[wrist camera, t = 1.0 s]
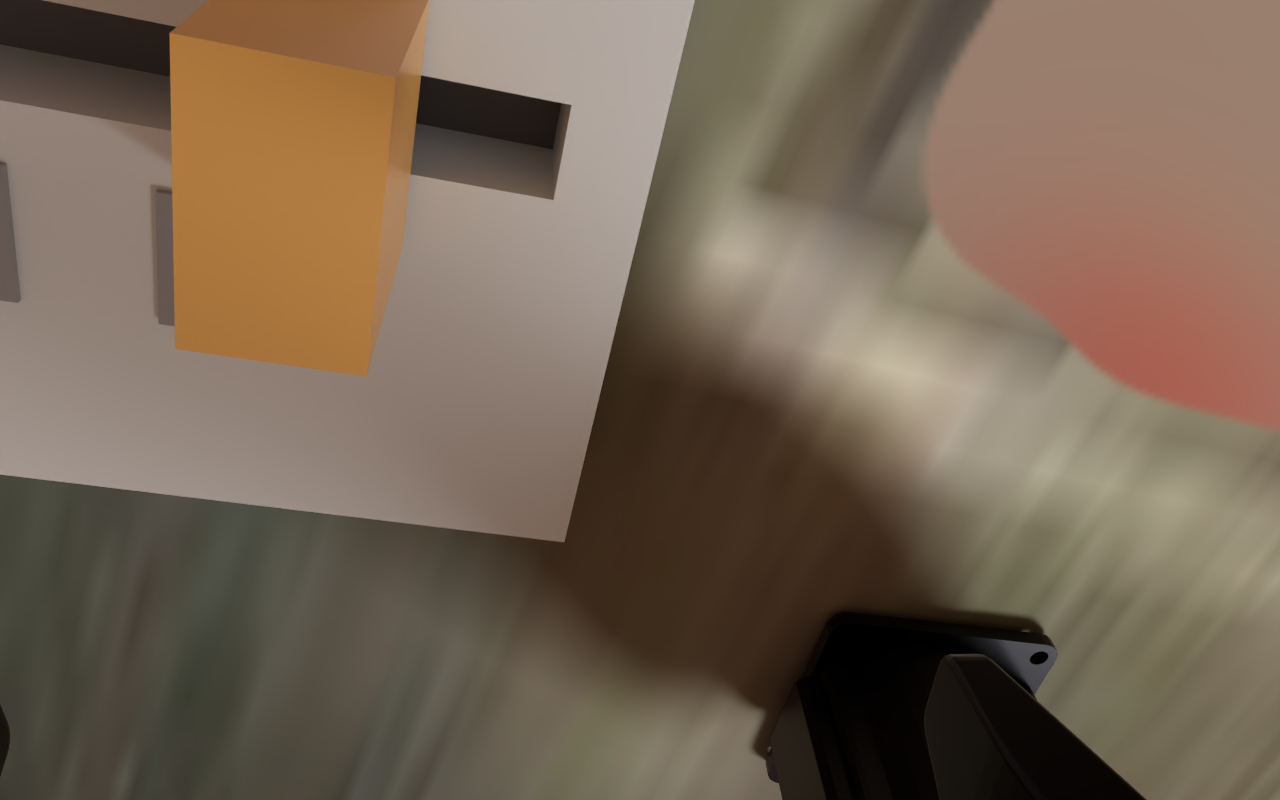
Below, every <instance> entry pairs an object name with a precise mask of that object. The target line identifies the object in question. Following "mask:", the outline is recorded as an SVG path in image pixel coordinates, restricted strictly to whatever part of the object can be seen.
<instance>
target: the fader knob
mask: <svg viewBox="0 0 1280 800" xmlns="http://www.w3.org/2000/svg"><path fill="white" fill-rule="evenodd" d="M428 9H429V0H208V1H207V2H206V3H205V4H204V5H202V6H201V7H200V8H199V9H198V10H196V11H195V12H194V13H193V14H192V15H190V16H189V17H188V18H187V19H186V20H184V21H183V22H182V23H181V24H180V25H178V26H177V27H176V28H175V29H174V30H172V31H171V32H170V88H171V145H172V203H173V260H174V317H175V349H179V350H186V351H193V352H200V353H207V354H214V355H221V356H227V357H234V358H241V359H248V360H255V361H262V362H269V363H276V364H283V365H290V366H297V367H303V368H310V369H317V370H324V371H331V372H338V373H345V374H352V375H359V376H366V377H367V374H368V371H369V367H370V363H371V360H372V356H373V352H374V349H375V345H376V341H377V338H378V334H379V331H380V327H381V323H382V320H383V316H384V312H385V309H386V305H387V301H388V298H389V294H390V290H391V287H392V283H393V279H394V276H395V272H396V268H397V265H398V261H399V257H400V254H401V250H402V245H403V236H404V227H405V218H406V209H407V199H408V190H409V181H410V172H411V163H412V154H413V145H414V136H415V127H416V118H417V109H418V100H419V91H420V82H421V73H422V64H423V55H424V45H425V36H426V27H427V18H428Z"/></svg>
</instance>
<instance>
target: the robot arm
mask: <svg viewBox="0 0 1280 800" xmlns="http://www.w3.org/2000/svg"><path fill="white" fill-rule="evenodd" d="M845 630H850V631H847V632H845V633H841V632H843V631H845ZM1057 655H1058V654H1057V650H1056V648H1055V646H1054V645H1053V643H1052V641H1051V639H1050V638H1049V637H1048V636H1046V635H1043V634H1037V633H1028V632H1019V631H1010V630H1002V629H993V628H984V627H975V626H967V625H958V624H949V623H940V622H931V621H923V620H914V619H905V618H896V617H888V616H879V615H870V614H861V613H852V612H842V613H839V614H836V615H834V616H833V617H831V618H830V619H829V620H828V621H827V623H826V624H825V627H824V629H823V631H822V633H821V636H820V638H819V640H818V643H817V645H816V647H815V649H814V652H813V654H812V656H811V658H810V661H809V663H808V665H807V668H806V670H805V672H804V674H803V675H802V676H801V677H800V678H799V679H798V680H797V681H796V682H795V683H794V685H793V687H792V690H791V692H790V694H789V697H788V699H787V701H786V704H785V706H784V708H783V710H782V713H781V715H780V717H779V720H778V722H777V724H776V726H775V729H774V731H773V733H772V736H771V738H770V744H771V750H770V752H769V754H768V756H767V759H766V768H767V773H768V776H769V778H770V779H771V780H772V781H774V782H777V783H779V785H780V790H781V794H782V799H783V800H1147V799H1145V798H1144V797H1143V796H1142V795H1141V794H1140V793H1139V792H1138V791H1137V790H1135V789H1134V788H1133V787H1132V786H1131V785H1130V784H1129V783H1128V782H1127V781H1125V780H1124V779H1123V778H1122V777H1121V776H1120V775H1119V774H1118V773H1117V772H1116V771H1114V770H1113V769H1112V768H1111V767H1110V766H1109V765H1108V764H1107V763H1106V762H1104V761H1103V760H1102V759H1101V758H1100V757H1099V756H1098V755H1097V754H1096V753H1094V752H1093V751H1092V750H1091V749H1090V748H1089V747H1088V746H1087V745H1086V744H1085V743H1083V742H1082V741H1081V740H1080V739H1079V738H1078V737H1077V736H1076V735H1075V734H1073V733H1072V732H1071V731H1070V730H1069V729H1068V728H1067V727H1066V726H1065V725H1063V724H1062V723H1061V722H1060V721H1059V720H1058V719H1057V718H1056V717H1055V716H1054V715H1052V714H1051V713H1050V712H1049V711H1048V710H1047V709H1046V708H1045V707H1044V706H1042V705H1041V704H1040V703H1039V702H1038V701H1037V699H1036V697H1035V695H1034V694H1035V693H1036V691H1037V690H1038V688H1039V686H1040V685H1041V683H1042V681H1043V680H1044V678H1045V677H1046V675H1047V673H1048V672H1049V670H1050V668H1051V667H1052V665H1053V664H1054V662H1055V660H1056V658H1057ZM9 744H10V731H9V726H8V722H7V720H6V717H5V715H4V712H3V710H2V708H1V705H0V776H1V773H2V770H3V767H4V763H5V760H6V757H7V754H8V750H9Z"/></svg>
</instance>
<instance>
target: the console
mask: <svg viewBox="0 0 1280 800" xmlns="http://www.w3.org/2000/svg"><path fill="white" fill-rule="evenodd" d="M207 1H208V0H0V474H1V475H10V476H18V477H26V478H35V479H43V480H51V481H60V482H68V483H76V484H84V485H93V486H101V487H109V488H118V489H126V490H134V491H143V492H151V493H159V494H167V495H176V496H184V497H192V498H201V499H209V500H217V501H226V502H234V503H242V504H250V505H259V506H267V507H275V508H284V509H292V510H300V511H309V512H317V513H325V514H333V515H342V516H350V517H358V518H367V519H375V520H383V521H392V522H400V523H408V524H416V525H425V526H433V527H441V528H450V529H458V530H466V531H475V532H483V533H491V534H499V535H508V536H516V537H524V538H533V539H541V540H549V541H557V542H565V537H566V533H567V529H568V525H569V521H570V517H571V512H572V508H573V504H574V500H575V496H576V492H577V488H578V483H579V479H580V475H581V471H582V467H583V463H584V458H585V454H586V450H587V446H588V442H589V438H590V433H591V429H592V425H593V421H594V417H595V413H596V409H597V404H598V400H599V396H600V392H601V388H602V384H603V379H604V375H605V371H606V367H607V363H608V359H609V355H610V350H611V346H612V342H613V338H614V334H615V330H616V325H617V321H618V317H619V313H620V309H621V305H622V300H623V296H624V292H625V288H626V284H627V280H628V276H629V271H630V267H631V263H632V259H633V255H634V251H635V246H636V242H637V238H638V234H639V230H640V226H641V221H642V217H643V213H644V209H645V205H646V201H647V197H648V192H649V188H650V184H651V180H652V176H653V172H654V167H655V163H656V159H657V155H658V151H659V147H660V143H661V138H662V134H663V130H664V126H665V122H666V118H667V113H668V109H669V105H670V101H671V97H672V93H673V88H674V84H675V80H676V76H677V72H678V68H679V64H680V59H681V55H682V51H683V47H684V43H685V39H686V34H687V30H688V26H689V22H690V18H691V14H692V9H693V5H694V1H695V0H429V9H428V18H427V27H426V36H425V45H424V55H423V64H422V73H421V82H420V91H419V100H418V109H417V118H416V127H415V136H414V145H413V154H412V163H411V172H410V181H409V190H408V199H407V209H406V218H405V227H404V236H403V245H402V250H401V254H400V257H399V261H398V265H397V268H396V272H395V276H394V279H393V283H392V287H391V290H390V294H389V298H388V301H387V305H386V309H385V312H384V316H383V320H382V323H381V327H380V331H379V334H378V338H377V341H376V345H375V349H374V352H373V356H372V360H371V363H370V367H369V371H368V374H367V377H366V376H359V375H352V374H345V373H338V372H331V371H324V370H317V369H310V368H303V367H297V366H290V365H283V364H276V363H269V362H262V361H255V360H248V359H241V358H234V357H227V356H221V355H214V354H207V353H200V352H193V351H186V350H179V349H175V317H174V260H173V203H172V145H171V88H170V32H171V31H172V30H174V29H175V28H176V27H177V26H178V25H180V24H181V23H182V22H183V21H184V20H186V19H187V18H188V17H189V16H190V15H192V14H193V13H194V12H195V11H196V10H198V9H199V8H200V7H201V6H202V5H204V4H205V3H206V2H207Z"/></svg>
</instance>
